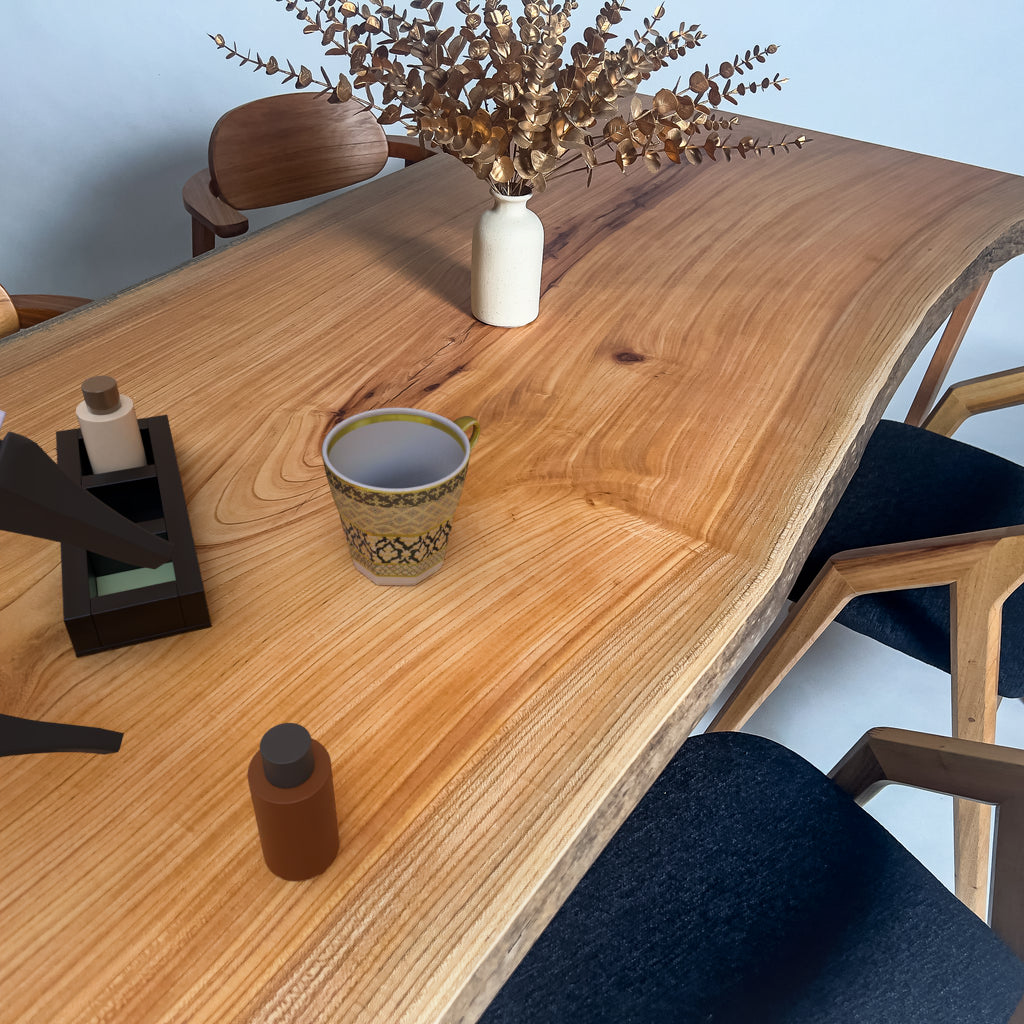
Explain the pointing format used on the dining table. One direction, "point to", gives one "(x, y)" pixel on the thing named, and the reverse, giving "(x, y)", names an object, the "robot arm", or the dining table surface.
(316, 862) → the spice bottle
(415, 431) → the ceramic cup
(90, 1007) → the dining table surface
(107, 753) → the robot arm
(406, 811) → the dining table surface
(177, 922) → the dining table surface
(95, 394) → the cream bottle
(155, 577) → the holder
